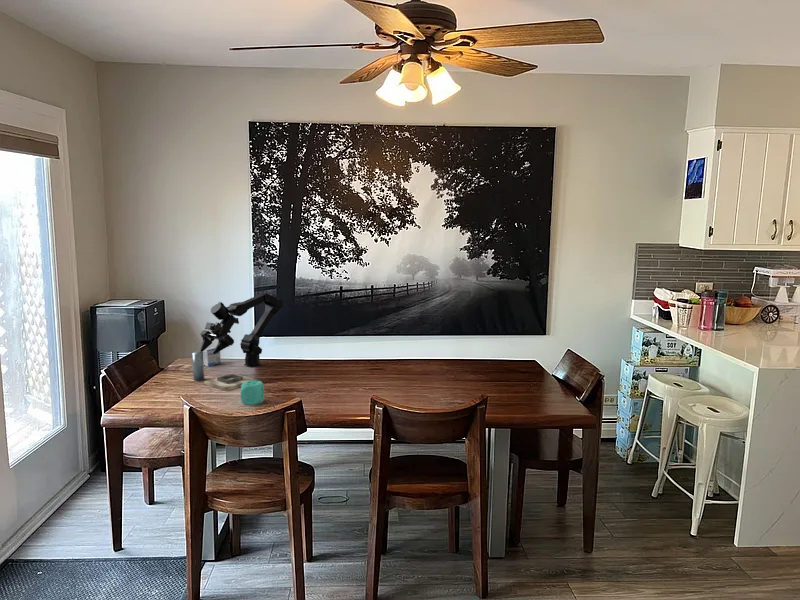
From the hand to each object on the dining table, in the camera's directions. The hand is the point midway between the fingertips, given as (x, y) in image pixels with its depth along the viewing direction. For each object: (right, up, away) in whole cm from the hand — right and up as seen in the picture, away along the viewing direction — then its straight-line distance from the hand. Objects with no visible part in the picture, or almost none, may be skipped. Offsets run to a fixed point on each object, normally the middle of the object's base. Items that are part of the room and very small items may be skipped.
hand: (207, 352), depth 280 cm
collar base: (+13, -13, -9) cm, 21 cm away
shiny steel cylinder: (-3, -12, -3) cm, 13 cm away
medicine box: (-6, -9, +25) cm, 27 cm away
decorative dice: (+30, -17, -36) cm, 50 cm away
